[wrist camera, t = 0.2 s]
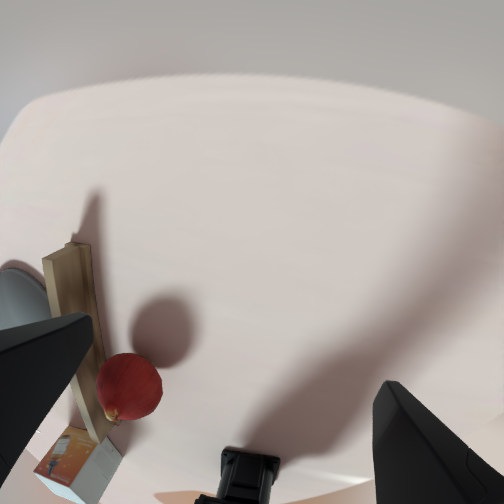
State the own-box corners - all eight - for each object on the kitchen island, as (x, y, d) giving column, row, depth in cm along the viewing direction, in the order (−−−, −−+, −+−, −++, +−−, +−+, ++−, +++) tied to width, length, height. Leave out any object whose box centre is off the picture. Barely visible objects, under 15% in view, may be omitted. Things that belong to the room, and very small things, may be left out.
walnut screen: (121, 421, 31) (105, 446, 27) (104, 415, 32) (87, 439, 27) (89, 244, 24) (57, 261, 20) (69, 241, 25) (37, 257, 20)
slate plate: (85, 388, 31) (81, 393, 30) (11, 354, 32) (7, 358, 31) (60, 279, 26) (54, 283, 25) (-14, 259, 28) (-19, 262, 27)
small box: (105, 432, 33) (69, 488, 23) (124, 458, 34) (94, 511, 24) (67, 424, 35) (31, 471, 25) (85, 449, 36) (54, 495, 26)
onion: (135, 386, 29) (99, 439, 21) (110, 339, 27) (64, 389, 20) (183, 384, 27) (152, 445, 20) (159, 333, 26) (116, 391, 18)
